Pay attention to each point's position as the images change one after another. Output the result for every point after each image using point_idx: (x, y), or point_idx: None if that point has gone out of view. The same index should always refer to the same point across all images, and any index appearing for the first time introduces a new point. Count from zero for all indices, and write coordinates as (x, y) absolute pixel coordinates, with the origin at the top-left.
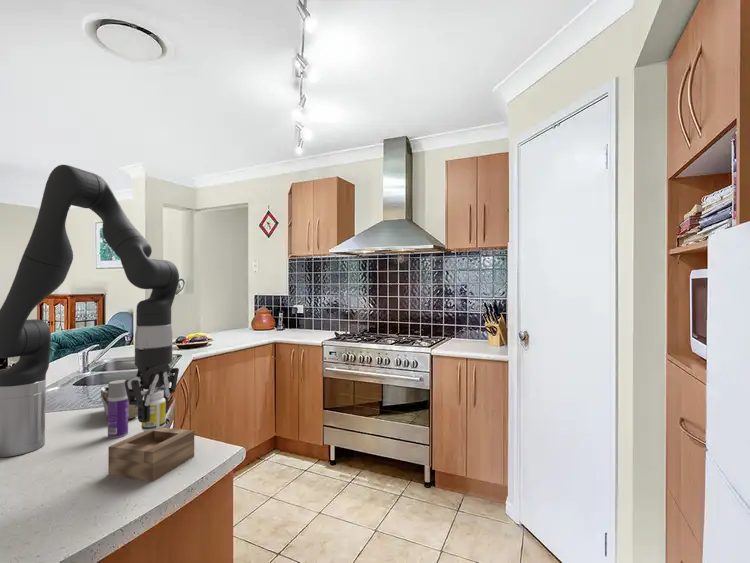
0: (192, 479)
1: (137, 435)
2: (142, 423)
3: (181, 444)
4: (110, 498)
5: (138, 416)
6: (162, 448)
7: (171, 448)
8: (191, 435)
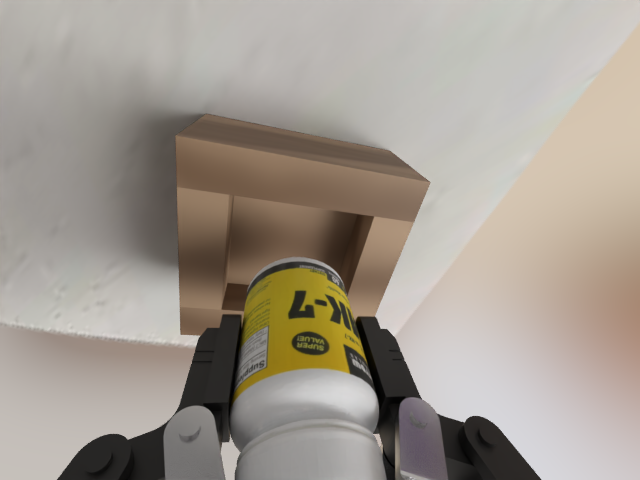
0: None
1: (320, 179)
2: (248, 301)
3: None
4: (97, 231)
5: (195, 352)
6: None
7: None
8: None
